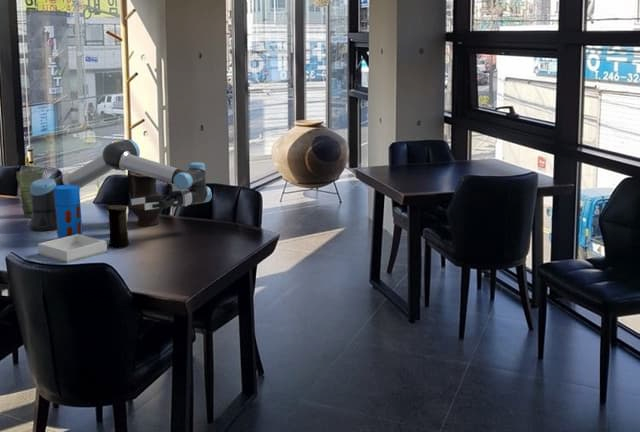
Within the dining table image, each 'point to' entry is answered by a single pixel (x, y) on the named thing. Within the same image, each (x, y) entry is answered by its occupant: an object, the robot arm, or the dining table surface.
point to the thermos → (68, 210)
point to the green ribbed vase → (27, 188)
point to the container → (118, 226)
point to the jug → (138, 189)
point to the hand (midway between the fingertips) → (138, 204)
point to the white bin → (72, 248)
